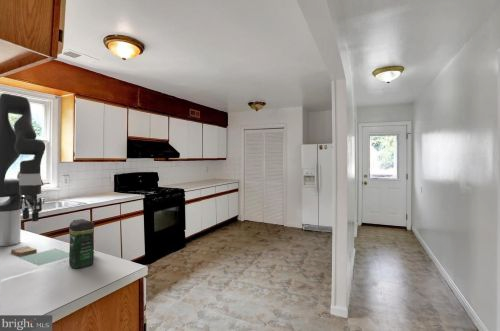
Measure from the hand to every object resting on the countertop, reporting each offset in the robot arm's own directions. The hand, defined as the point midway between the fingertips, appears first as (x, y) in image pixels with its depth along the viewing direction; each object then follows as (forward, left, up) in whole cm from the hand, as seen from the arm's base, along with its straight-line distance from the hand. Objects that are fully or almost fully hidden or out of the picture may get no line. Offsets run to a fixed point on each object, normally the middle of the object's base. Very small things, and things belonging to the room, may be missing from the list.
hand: (30, 220), depth 117 cm
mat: (+8, +3, -16) cm, 18 cm away
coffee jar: (+29, +6, -16) cm, 34 cm away
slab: (-1, 0, -15) cm, 15 cm away
